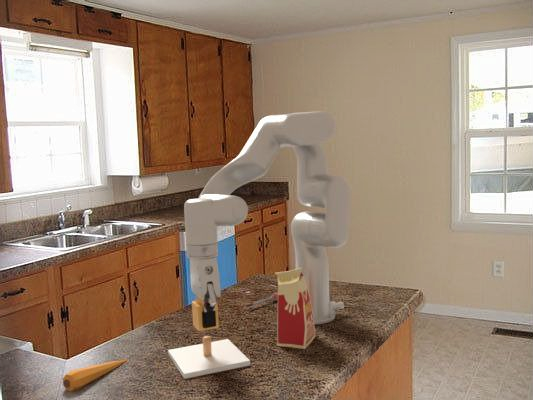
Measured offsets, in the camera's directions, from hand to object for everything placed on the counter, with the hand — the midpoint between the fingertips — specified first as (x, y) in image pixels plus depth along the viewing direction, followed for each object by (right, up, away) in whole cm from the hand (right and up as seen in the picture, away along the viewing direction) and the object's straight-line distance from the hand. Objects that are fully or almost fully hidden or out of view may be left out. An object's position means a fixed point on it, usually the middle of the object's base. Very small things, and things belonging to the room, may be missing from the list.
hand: (205, 322), depth 137 cm
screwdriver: (+17, -4, +47) cm, 50 cm away
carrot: (-24, -12, -5) cm, 27 cm away
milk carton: (+22, -8, +11) cm, 26 cm away
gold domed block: (0, -1, 0) cm, 1 cm away
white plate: (0, -9, +1) cm, 9 cm away
